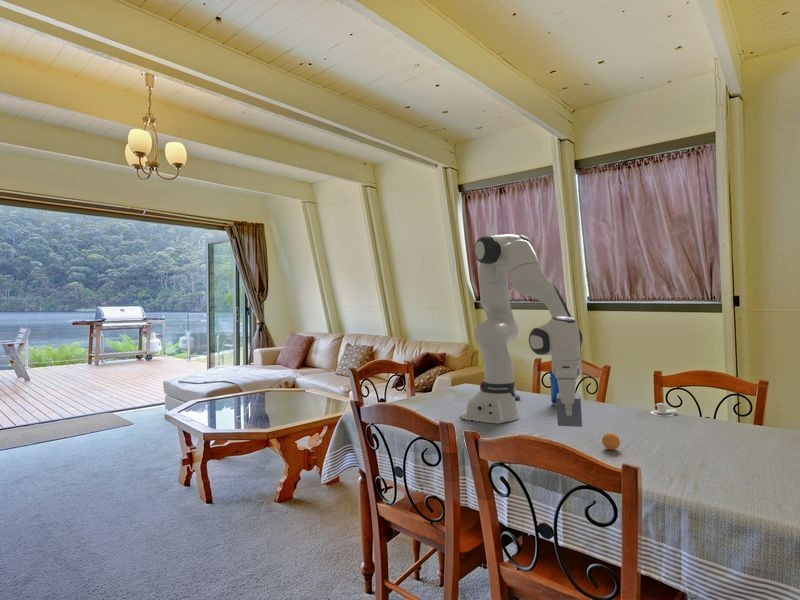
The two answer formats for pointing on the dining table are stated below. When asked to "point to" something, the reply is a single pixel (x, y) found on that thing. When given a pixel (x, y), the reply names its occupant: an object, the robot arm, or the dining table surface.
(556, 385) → the beer can
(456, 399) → the dining table surface
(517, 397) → the woven mat
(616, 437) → the ball
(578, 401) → the grey rectangular block
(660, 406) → the teacup and saucer
